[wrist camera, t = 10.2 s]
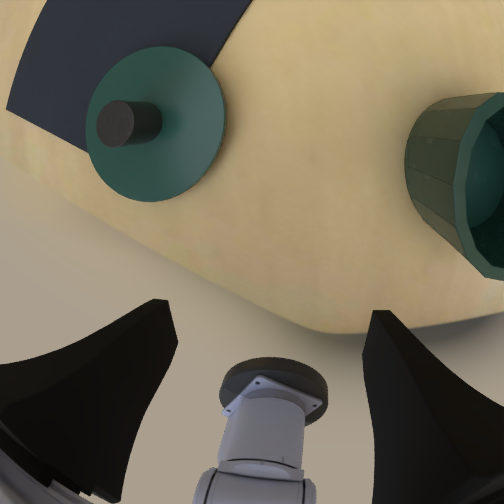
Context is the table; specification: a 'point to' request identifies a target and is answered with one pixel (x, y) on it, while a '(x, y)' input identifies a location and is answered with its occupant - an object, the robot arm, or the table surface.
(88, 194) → the table surface
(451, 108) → the tin
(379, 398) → the robot arm
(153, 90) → the tin lid
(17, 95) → the mat
